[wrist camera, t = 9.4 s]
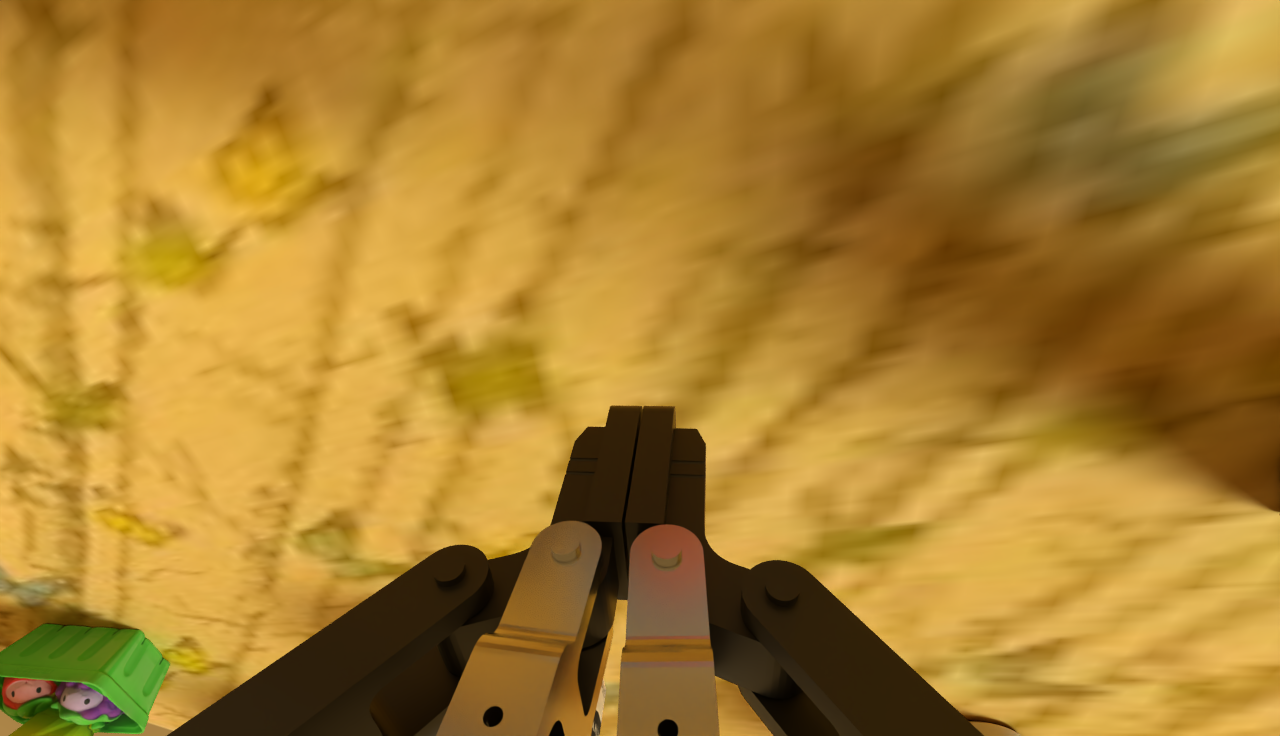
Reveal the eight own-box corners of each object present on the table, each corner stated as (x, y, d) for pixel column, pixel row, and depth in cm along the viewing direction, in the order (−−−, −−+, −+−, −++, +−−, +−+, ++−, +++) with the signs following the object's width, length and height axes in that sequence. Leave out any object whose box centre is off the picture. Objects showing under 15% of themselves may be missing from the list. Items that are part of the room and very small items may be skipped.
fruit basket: (147, 620, 48) (10, 780, 38) (198, 681, 53) (88, 836, 43) (20, 611, 49) (-143, 764, 40) (82, 672, 54) (-51, 821, 45)
